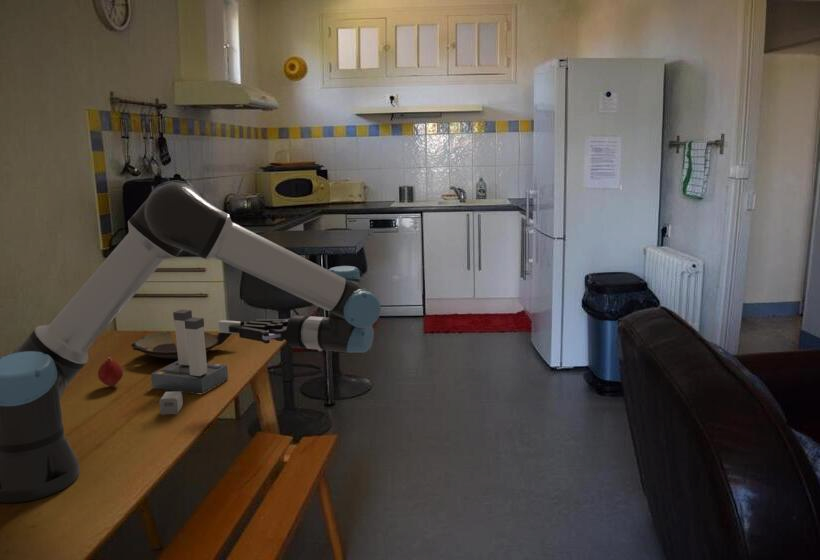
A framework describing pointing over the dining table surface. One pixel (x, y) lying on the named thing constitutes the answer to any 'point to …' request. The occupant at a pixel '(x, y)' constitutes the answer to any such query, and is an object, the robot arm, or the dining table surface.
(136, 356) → the dining table surface
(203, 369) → the grey square post
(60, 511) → the dining table surface
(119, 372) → the onion
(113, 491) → the dining table surface
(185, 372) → the console
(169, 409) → the usb wall charger
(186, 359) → the white capped post
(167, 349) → the broken bowl
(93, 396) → the dining table surface
